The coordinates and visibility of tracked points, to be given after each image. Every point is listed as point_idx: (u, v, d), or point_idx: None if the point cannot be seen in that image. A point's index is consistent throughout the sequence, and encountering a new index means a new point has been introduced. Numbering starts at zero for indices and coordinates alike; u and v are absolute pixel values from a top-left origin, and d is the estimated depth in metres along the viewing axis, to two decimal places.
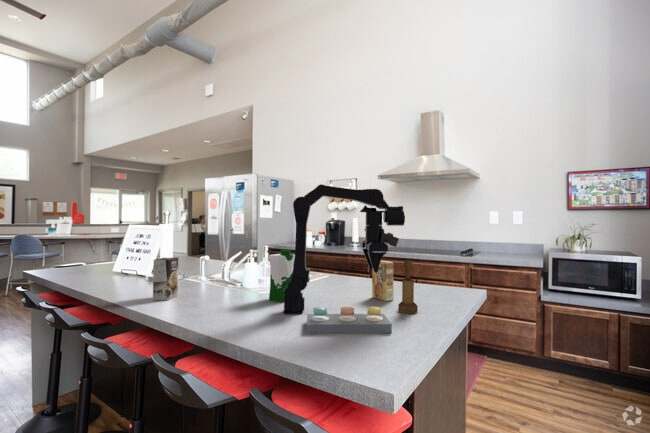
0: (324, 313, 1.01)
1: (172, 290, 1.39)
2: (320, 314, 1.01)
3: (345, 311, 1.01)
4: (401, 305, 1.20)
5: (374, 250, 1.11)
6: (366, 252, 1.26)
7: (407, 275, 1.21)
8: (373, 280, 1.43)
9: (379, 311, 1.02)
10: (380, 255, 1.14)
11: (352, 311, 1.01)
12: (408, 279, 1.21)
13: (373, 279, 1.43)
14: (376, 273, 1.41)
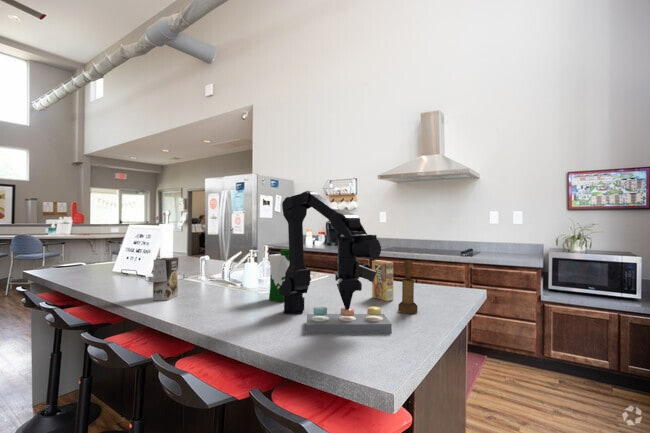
0: (324, 313, 1.01)
1: (172, 290, 1.39)
2: (320, 314, 1.01)
3: (345, 312, 1.01)
4: (401, 305, 1.20)
5: (345, 289, 0.94)
6: None
7: (407, 275, 1.21)
8: None
9: (379, 311, 1.02)
10: (351, 291, 1.01)
11: (352, 312, 1.01)
12: (408, 279, 1.21)
13: None
14: (376, 273, 1.41)
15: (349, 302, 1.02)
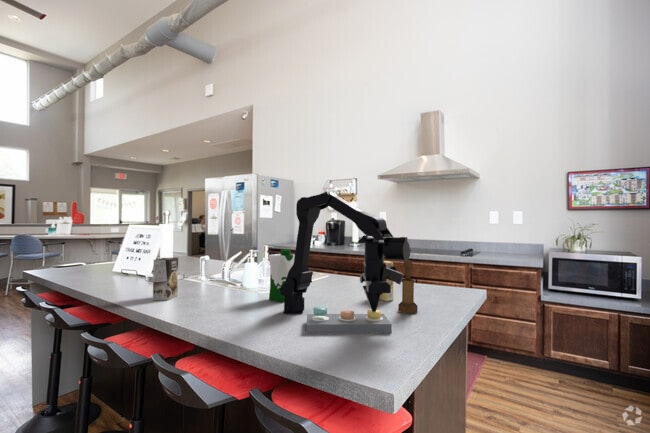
0: (324, 313, 1.01)
1: (172, 290, 1.39)
2: (320, 314, 1.01)
3: (345, 315, 1.01)
4: (401, 305, 1.20)
5: (374, 291, 0.94)
6: None
7: (407, 275, 1.21)
8: None
9: (379, 314, 1.02)
10: (379, 293, 1.01)
11: (352, 315, 1.01)
12: (408, 279, 1.21)
13: None
14: None
15: (376, 304, 1.02)
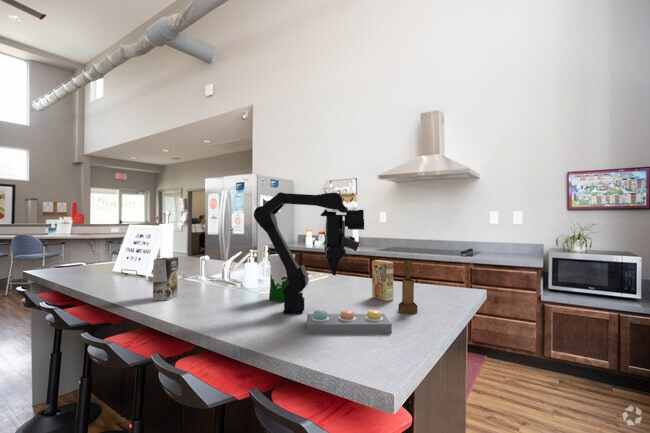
0: (324, 317, 1.01)
1: (172, 290, 1.39)
2: (320, 318, 1.01)
3: (345, 315, 1.01)
4: (401, 305, 1.20)
5: (331, 255, 1.10)
6: None
7: (407, 275, 1.21)
8: (373, 280, 1.43)
9: (379, 315, 1.02)
10: (338, 258, 1.17)
11: (352, 315, 1.01)
12: (408, 279, 1.21)
13: (373, 279, 1.43)
14: (376, 273, 1.41)
15: (336, 268, 1.18)
